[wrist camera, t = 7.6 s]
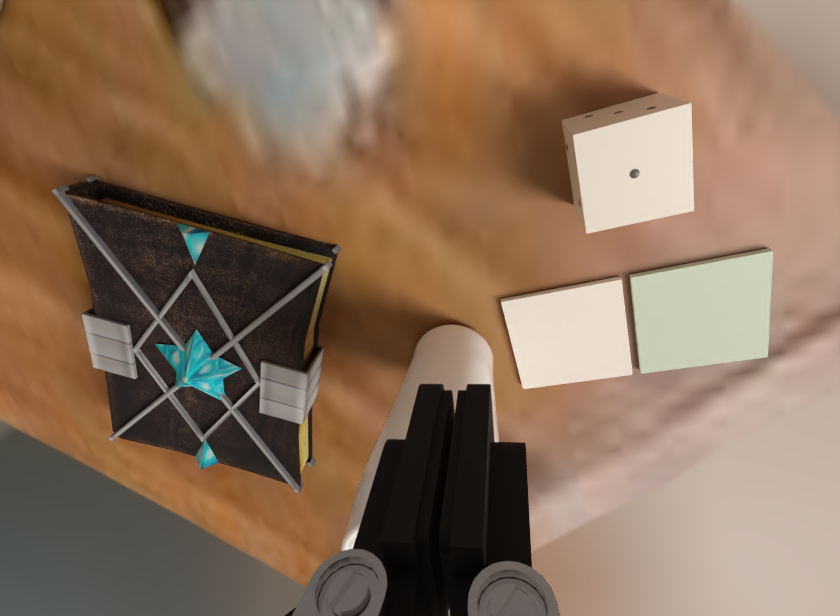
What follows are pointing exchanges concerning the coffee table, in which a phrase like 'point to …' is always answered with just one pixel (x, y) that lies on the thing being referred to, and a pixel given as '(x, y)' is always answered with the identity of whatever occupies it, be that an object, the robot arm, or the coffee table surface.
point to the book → (202, 328)
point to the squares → (644, 321)
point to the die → (631, 161)
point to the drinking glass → (431, 364)
